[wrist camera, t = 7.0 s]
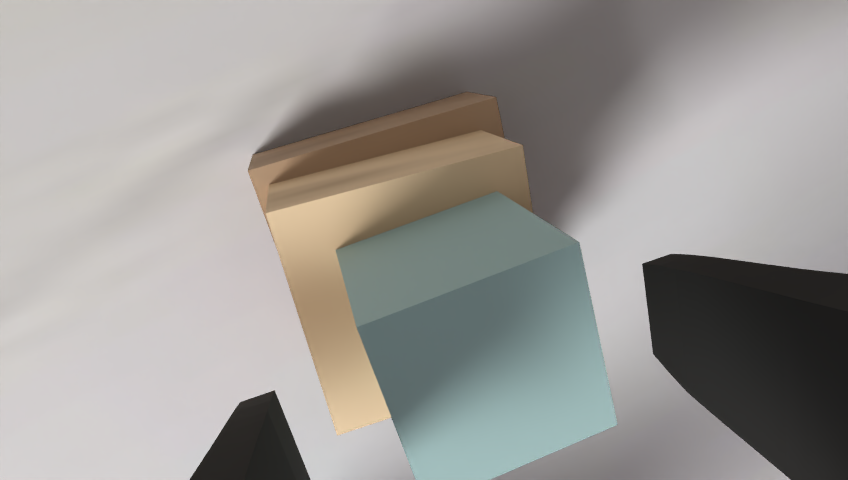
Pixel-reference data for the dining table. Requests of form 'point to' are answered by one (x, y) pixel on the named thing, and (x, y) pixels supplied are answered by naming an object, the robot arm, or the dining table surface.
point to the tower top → (363, 218)
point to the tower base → (375, 139)
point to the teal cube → (480, 338)
